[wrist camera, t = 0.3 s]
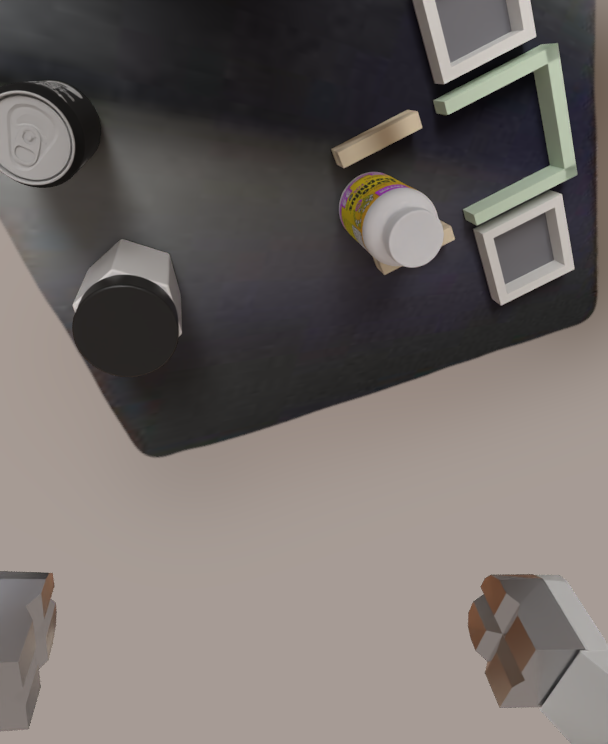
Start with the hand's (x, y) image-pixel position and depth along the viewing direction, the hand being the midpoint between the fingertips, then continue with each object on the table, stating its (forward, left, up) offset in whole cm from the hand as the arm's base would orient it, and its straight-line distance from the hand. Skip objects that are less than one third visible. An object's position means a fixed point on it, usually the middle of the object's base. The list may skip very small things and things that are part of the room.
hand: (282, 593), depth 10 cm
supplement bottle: (+2, +17, -47) cm, 50 cm away
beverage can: (-4, -11, -47) cm, 48 cm away
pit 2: (+6, +35, -46) cm, 58 cm away
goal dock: (-4, +29, -46) cm, 55 cm away
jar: (+10, -6, -47) cm, 48 cm away
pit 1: (-15, +24, -46) cm, 54 cm away
